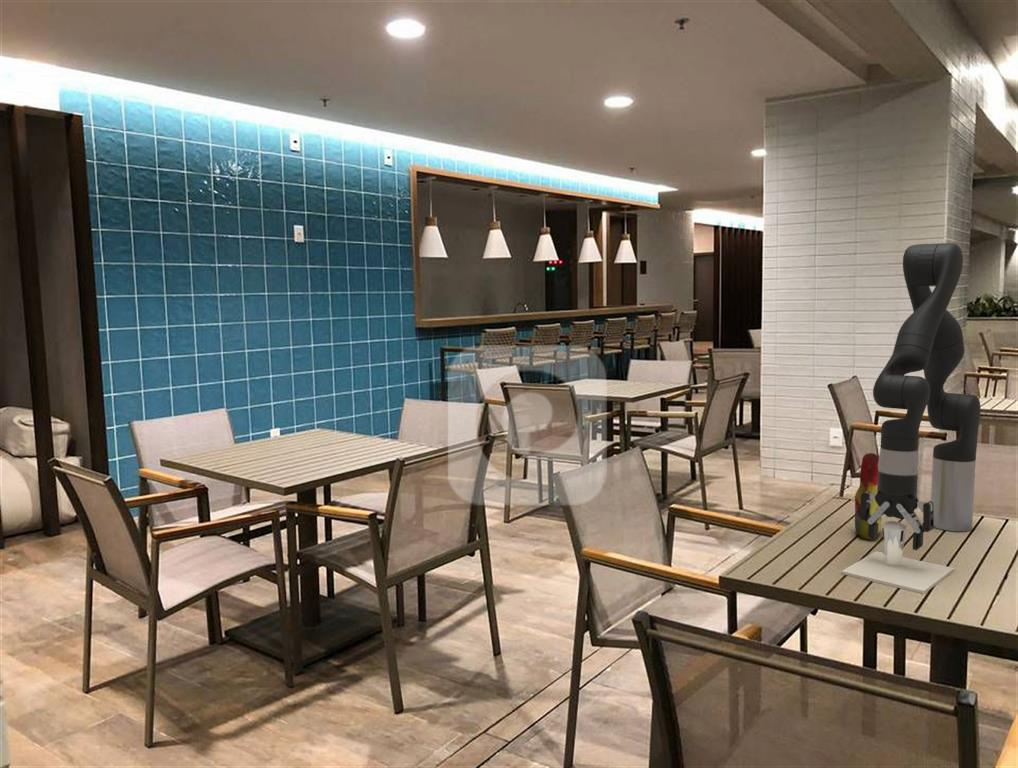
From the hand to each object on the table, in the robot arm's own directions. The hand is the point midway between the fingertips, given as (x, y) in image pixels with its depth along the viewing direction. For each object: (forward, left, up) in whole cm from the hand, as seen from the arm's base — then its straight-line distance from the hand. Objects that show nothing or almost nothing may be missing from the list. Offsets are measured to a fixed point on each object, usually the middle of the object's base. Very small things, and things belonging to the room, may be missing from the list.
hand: (894, 545), depth 169 cm
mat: (+3, +2, -5) cm, 6 cm away
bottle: (-19, -13, -5) cm, 24 cm away
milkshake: (0, 0, -4) cm, 4 cm away
